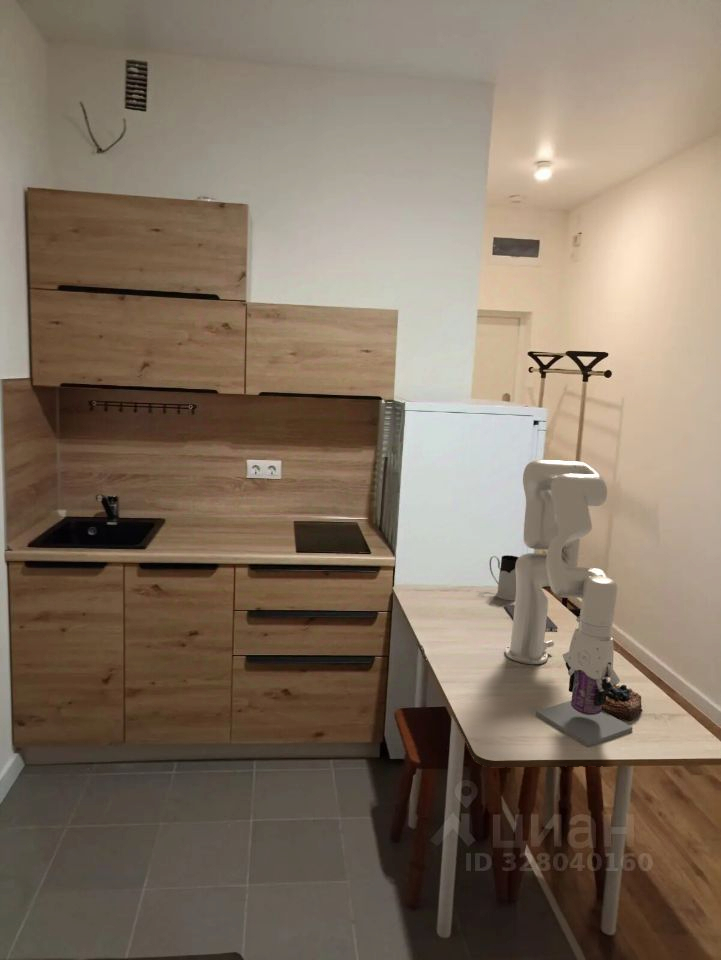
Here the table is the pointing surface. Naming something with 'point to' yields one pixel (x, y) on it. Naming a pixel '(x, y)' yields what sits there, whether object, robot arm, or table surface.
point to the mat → (584, 724)
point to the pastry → (622, 703)
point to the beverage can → (584, 694)
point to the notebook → (549, 624)
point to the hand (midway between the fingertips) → (586, 697)
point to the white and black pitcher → (506, 577)
